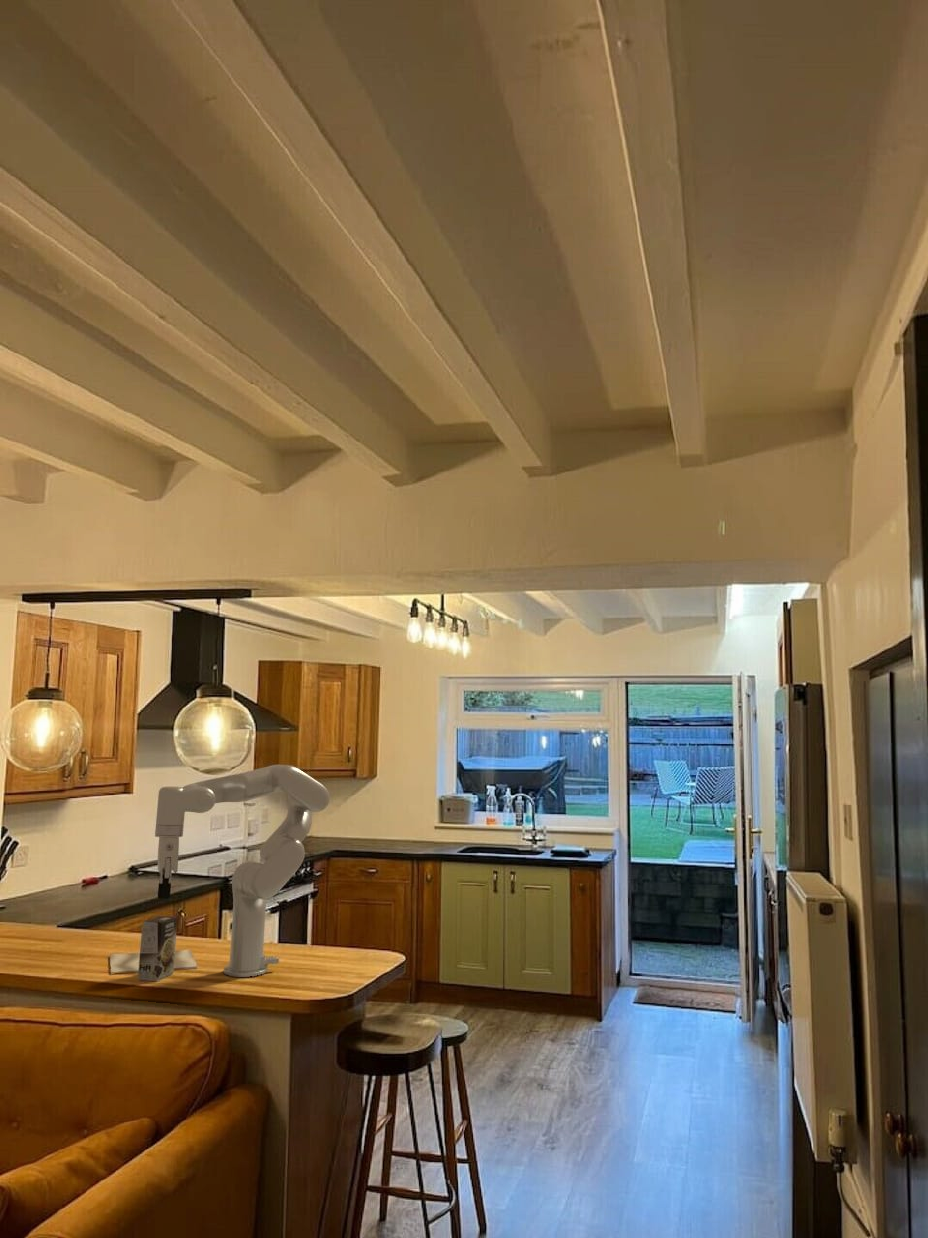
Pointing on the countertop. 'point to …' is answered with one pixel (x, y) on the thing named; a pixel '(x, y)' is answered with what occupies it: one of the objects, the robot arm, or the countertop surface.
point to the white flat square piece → (131, 960)
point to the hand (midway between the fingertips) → (163, 898)
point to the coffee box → (157, 948)
